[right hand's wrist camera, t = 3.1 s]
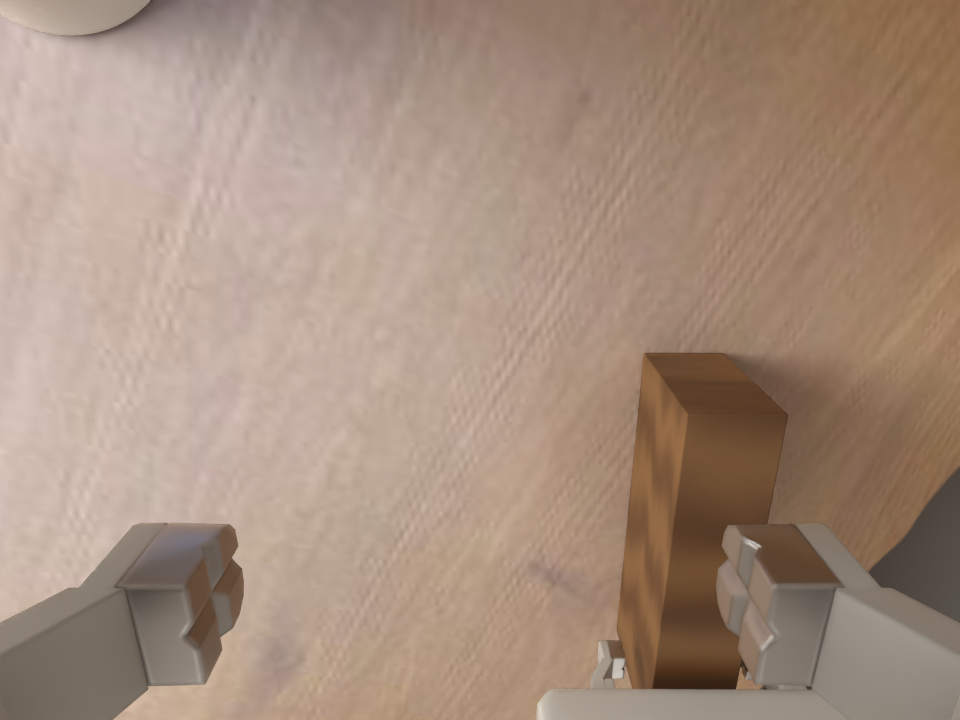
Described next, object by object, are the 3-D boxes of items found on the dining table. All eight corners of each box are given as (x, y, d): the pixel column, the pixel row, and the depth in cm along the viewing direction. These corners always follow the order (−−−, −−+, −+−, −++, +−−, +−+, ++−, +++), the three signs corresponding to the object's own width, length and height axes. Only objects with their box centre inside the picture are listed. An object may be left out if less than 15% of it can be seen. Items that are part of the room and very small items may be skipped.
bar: (643, 352, 41) (687, 414, 33) (723, 352, 41) (788, 414, 33) (616, 630, 50) (645, 739, 41) (683, 630, 50) (726, 739, 41)
